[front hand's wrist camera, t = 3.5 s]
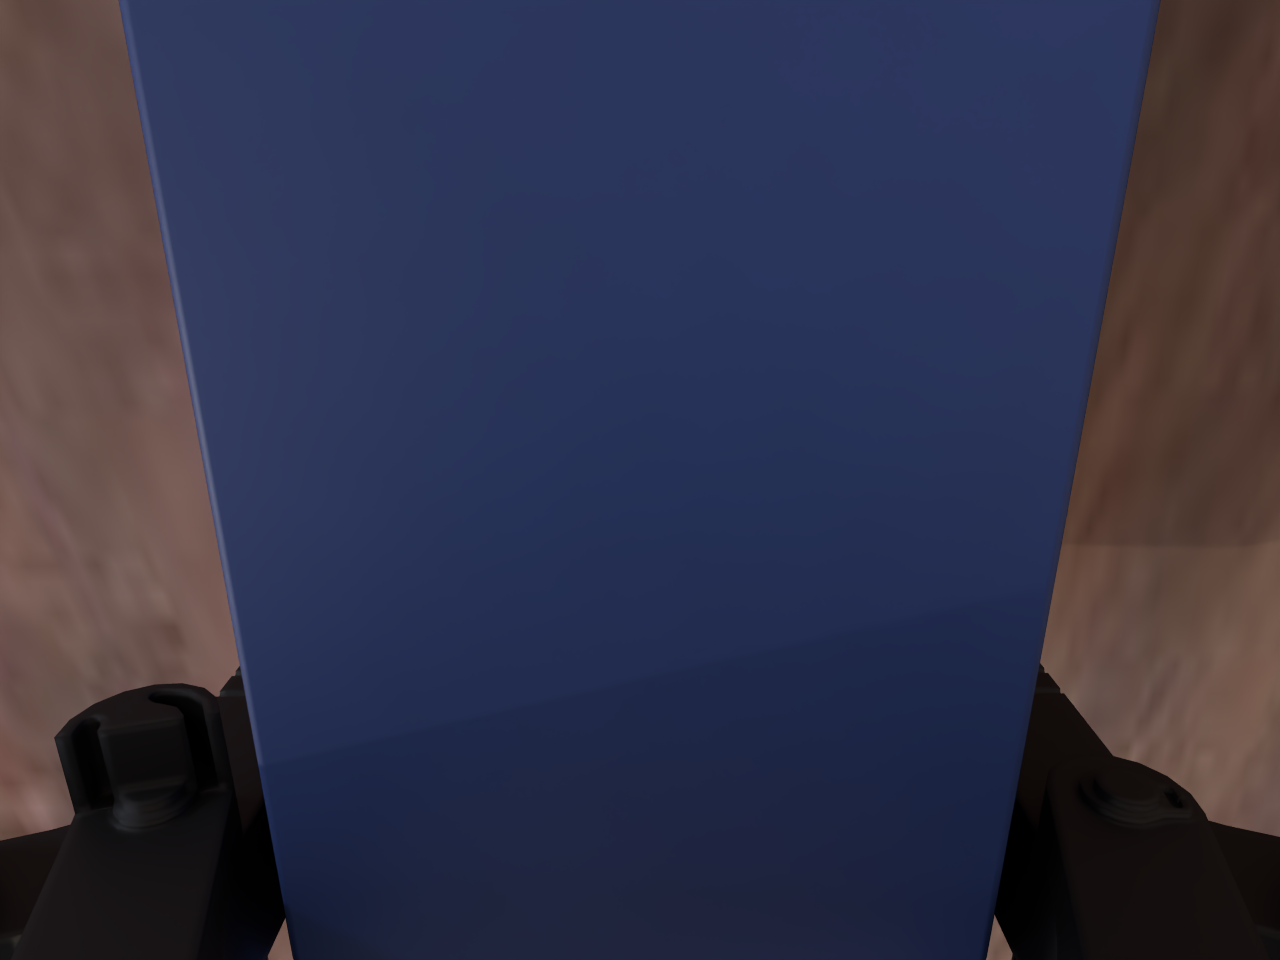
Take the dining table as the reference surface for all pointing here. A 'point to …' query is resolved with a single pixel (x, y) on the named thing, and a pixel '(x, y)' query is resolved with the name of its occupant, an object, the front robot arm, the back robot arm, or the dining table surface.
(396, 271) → the bar
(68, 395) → the dining table surface
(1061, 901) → the front robot arm
